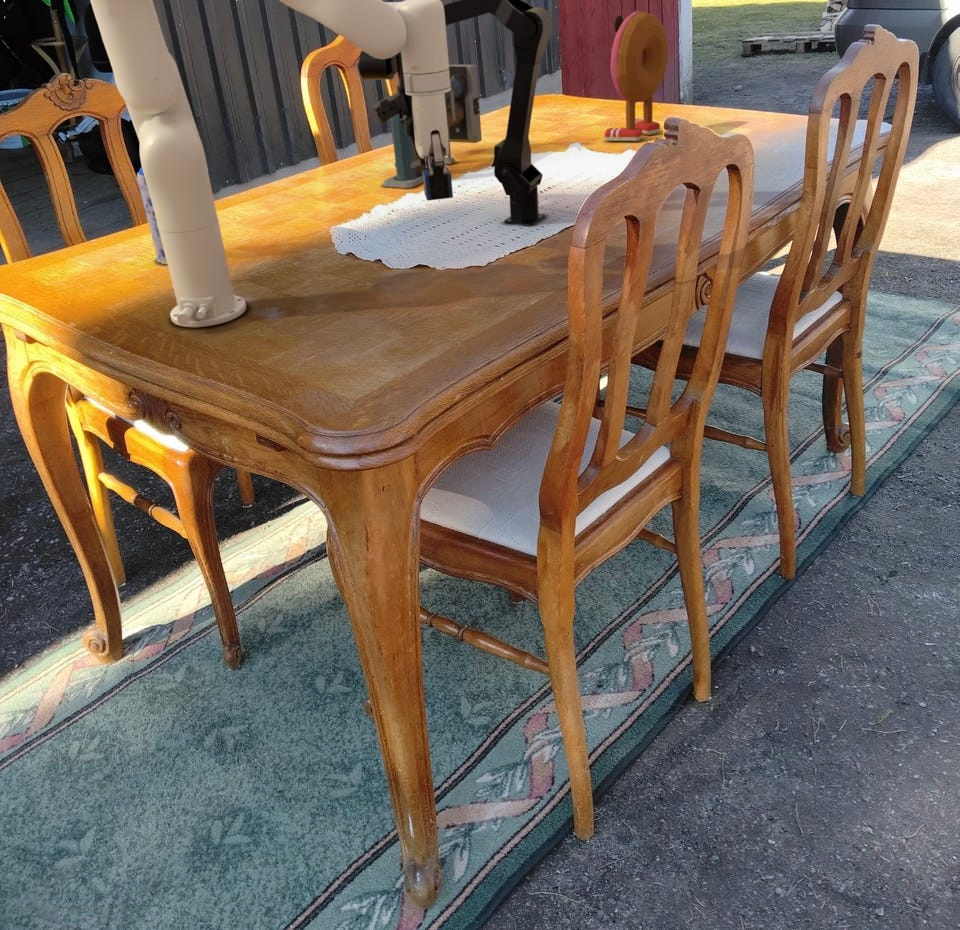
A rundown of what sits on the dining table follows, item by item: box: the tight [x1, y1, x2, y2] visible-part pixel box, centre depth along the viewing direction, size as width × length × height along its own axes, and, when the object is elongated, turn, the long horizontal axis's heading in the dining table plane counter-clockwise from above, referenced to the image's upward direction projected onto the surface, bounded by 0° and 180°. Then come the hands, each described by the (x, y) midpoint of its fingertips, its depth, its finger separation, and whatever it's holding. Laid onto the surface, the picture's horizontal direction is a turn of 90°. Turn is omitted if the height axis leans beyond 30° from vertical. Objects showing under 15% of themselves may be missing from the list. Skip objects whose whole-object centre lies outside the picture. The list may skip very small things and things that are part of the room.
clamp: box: [382, 64, 483, 189], centre depth 235 cm, size 35×9×21 cm, turn 151°
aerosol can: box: [136, 166, 168, 265], centre depth 188 cm, size 8×8×20 cm
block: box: [422, 166, 454, 202], centre depth 166 cm, size 4×4×4 cm
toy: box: [604, 10, 669, 142], centre depth 247 cm, size 21×10×30 cm, turn 141°
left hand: (438, 193), depth 166 cm, fingers closed on block, 4 cm apart
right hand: (421, 159), depth 199 cm, fingers open, 9 cm apart
